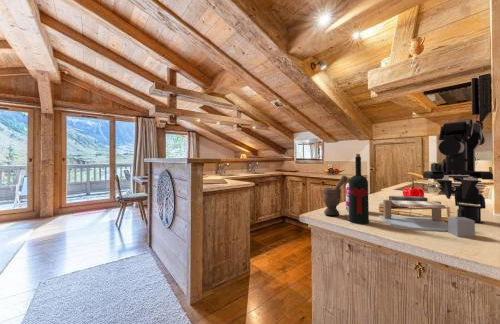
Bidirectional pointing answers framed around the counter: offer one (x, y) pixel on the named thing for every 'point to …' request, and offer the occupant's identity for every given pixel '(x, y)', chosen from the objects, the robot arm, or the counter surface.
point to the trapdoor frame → (414, 220)
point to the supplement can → (347, 197)
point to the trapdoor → (413, 202)
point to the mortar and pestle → (333, 197)
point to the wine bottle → (358, 196)
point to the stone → (461, 227)
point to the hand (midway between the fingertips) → (456, 199)
